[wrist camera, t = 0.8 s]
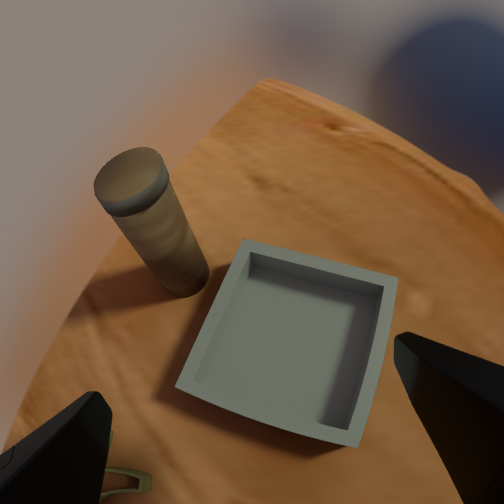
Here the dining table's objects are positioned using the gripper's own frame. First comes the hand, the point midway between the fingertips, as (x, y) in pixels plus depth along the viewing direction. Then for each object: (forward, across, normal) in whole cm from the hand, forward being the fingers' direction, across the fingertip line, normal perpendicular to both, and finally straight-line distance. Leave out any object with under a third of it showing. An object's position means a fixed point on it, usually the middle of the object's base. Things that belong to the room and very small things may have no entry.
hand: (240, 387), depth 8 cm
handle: (+19, +6, +3) cm, 20 cm away
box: (+12, -2, +8) cm, 15 cm away
